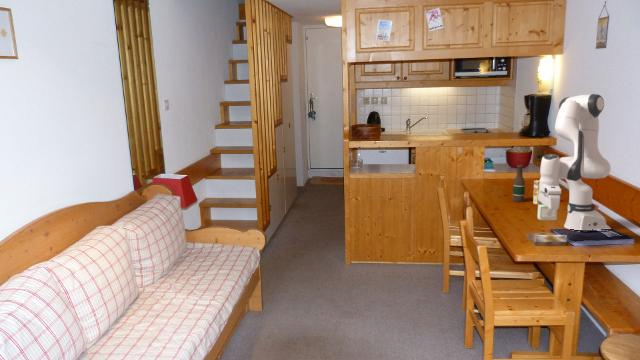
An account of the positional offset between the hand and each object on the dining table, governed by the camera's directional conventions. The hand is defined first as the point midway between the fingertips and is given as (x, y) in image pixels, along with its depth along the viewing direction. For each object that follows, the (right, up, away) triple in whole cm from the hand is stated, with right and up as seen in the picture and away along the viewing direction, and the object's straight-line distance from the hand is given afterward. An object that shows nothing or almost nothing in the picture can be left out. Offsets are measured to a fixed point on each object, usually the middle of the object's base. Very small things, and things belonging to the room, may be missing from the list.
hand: (547, 214), depth 261 cm
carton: (0, -3, +1) cm, 3 cm away
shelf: (+1, -14, +3) cm, 14 cm away
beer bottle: (+17, +3, +82) cm, 84 cm away
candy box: (+28, +2, +74) cm, 80 cm away
